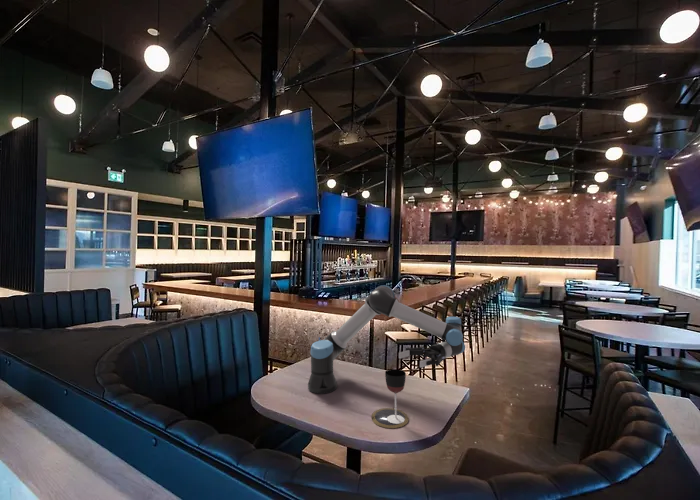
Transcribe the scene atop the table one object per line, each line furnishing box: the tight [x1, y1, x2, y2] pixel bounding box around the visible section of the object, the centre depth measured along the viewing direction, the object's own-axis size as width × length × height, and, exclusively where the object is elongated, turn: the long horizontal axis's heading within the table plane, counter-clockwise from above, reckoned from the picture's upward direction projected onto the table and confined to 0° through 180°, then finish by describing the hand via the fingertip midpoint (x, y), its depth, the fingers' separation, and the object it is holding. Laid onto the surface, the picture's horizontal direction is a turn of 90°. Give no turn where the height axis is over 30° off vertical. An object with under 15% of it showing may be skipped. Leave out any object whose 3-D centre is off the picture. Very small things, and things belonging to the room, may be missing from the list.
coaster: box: [371, 407, 410, 429], centre depth 150 cm, size 16×16×1 cm
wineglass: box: [384, 368, 407, 424], centre depth 148 cm, size 8×9×20 cm
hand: (409, 359), depth 159 cm, fingers open, 13 cm apart
